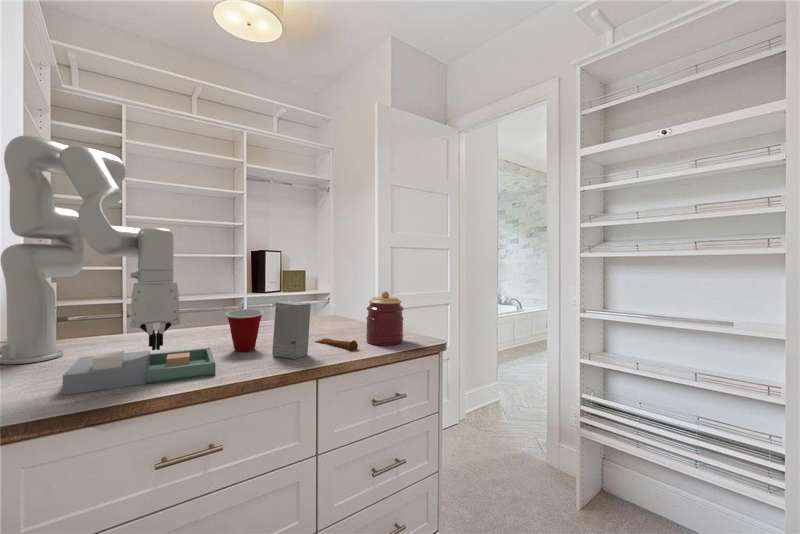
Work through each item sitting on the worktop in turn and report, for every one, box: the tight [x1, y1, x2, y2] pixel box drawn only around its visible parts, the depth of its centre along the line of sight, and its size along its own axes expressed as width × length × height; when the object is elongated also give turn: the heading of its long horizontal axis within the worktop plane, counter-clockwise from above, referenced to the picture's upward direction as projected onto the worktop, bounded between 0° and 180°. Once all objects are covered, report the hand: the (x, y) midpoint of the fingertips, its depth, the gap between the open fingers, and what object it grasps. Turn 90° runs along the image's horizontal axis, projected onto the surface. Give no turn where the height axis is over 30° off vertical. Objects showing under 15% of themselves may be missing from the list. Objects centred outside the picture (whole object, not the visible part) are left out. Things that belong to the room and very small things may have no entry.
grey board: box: [62, 350, 151, 396], centre depth 86 cm, size 14×16×4 cm
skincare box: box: [272, 300, 312, 360], centre depth 109 cm, size 8×7×16 cm
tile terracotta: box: [166, 352, 190, 367], centre depth 96 cm, size 5×5×2 cm
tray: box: [145, 347, 216, 385], centre depth 93 cm, size 14×17×3 cm
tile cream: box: [92, 350, 125, 370], centre depth 82 cm, size 5×5×2 cm
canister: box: [365, 291, 405, 346], centre depth 128 cm, size 13×13×18 cm
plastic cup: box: [225, 308, 264, 353], centre depth 114 cm, size 11×11×12 cm
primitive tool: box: [314, 338, 359, 352], centre depth 123 cm, size 19×6×4 cm, turn 48°
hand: (156, 348), depth 94 cm, fingers closed
